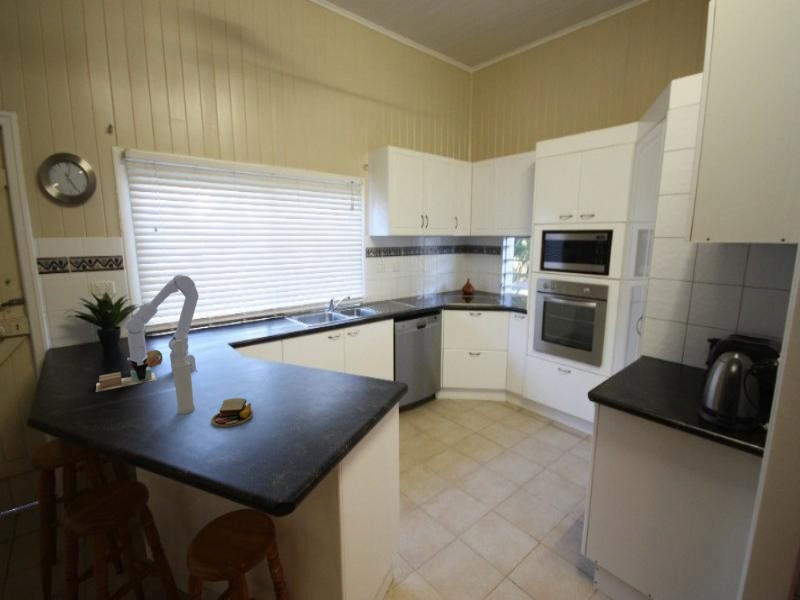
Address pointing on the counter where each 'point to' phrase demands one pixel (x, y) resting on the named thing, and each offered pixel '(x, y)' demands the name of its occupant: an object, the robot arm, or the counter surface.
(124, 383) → the birch board
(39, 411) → the counter surface
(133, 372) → the teal brick
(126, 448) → the counter surface
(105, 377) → the walnut block
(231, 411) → the toy sandwich meal
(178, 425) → the counter surface
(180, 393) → the bottle
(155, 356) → the tin
